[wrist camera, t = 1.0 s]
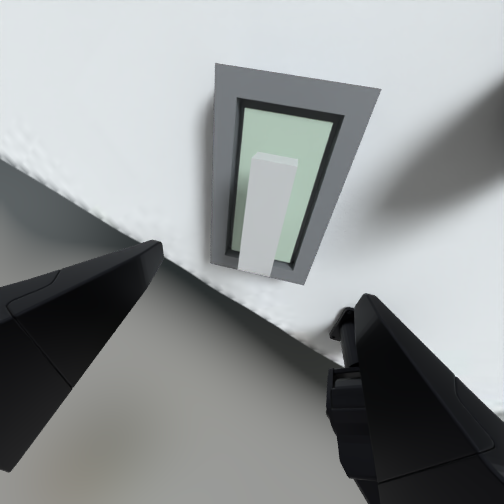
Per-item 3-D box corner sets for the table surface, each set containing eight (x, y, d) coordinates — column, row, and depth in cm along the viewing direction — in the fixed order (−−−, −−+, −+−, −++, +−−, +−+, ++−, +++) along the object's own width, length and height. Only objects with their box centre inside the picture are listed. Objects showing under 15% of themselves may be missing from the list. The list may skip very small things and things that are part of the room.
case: (303, 264, 24) (304, 285, 21) (220, 245, 25) (210, 263, 22) (366, 92, 15) (381, 88, 12) (230, 71, 16) (215, 63, 13)
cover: (290, 257, 22) (286, 300, 17) (233, 244, 22) (214, 282, 17) (331, 121, 15) (345, 129, 10) (247, 107, 15) (222, 107, 10)
